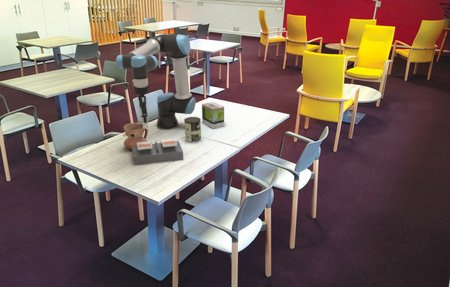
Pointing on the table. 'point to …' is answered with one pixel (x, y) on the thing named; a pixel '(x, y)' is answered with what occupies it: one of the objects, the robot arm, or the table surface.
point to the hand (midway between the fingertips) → (144, 123)
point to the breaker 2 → (168, 142)
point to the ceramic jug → (134, 134)
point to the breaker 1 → (144, 145)
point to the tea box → (213, 115)
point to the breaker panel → (157, 154)
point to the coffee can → (192, 129)
